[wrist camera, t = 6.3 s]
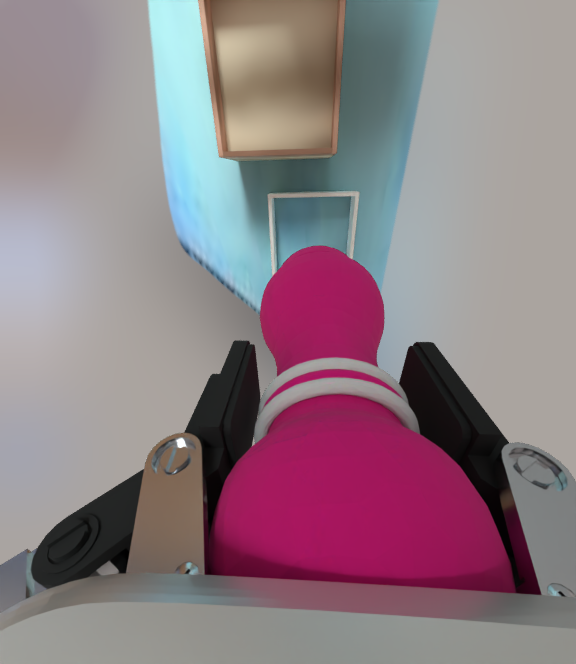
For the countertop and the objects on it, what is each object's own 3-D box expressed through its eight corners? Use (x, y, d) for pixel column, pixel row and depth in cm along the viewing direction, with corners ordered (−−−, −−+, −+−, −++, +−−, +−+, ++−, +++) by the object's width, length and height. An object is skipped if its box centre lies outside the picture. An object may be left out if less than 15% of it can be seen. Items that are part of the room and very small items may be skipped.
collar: (270, 192, 33) (267, 194, 30) (355, 190, 32) (359, 191, 29) (274, 273, 38) (272, 281, 35) (347, 273, 37) (350, 280, 35)
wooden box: (224, 29, 25) (194, -25, 19) (335, 22, 25) (347, -37, 18) (237, 161, 31) (219, 156, 24) (329, 158, 30) (336, 153, 24)
